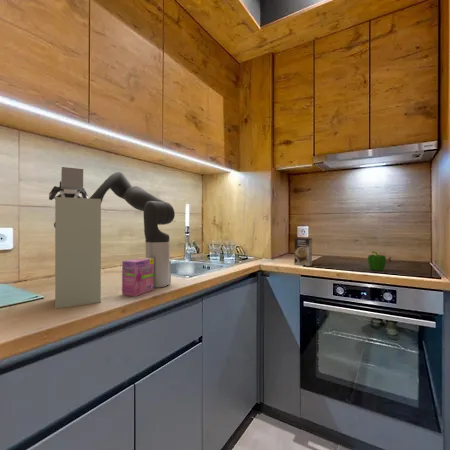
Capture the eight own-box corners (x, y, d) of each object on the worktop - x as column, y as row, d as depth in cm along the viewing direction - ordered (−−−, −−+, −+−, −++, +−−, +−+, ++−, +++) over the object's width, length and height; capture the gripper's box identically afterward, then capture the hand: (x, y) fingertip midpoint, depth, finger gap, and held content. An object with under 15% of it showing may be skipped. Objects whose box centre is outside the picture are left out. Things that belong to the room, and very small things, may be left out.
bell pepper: (389, 271, 144) (390, 251, 144) (377, 271, 142) (377, 252, 142) (376, 268, 152) (376, 250, 152) (364, 269, 150) (364, 250, 150)
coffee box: (293, 264, 166) (294, 237, 166) (297, 263, 172) (297, 237, 172) (309, 266, 161) (309, 238, 161) (312, 264, 167) (312, 238, 167)
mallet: (60, 193, 105) (60, 177, 105) (78, 194, 109) (78, 178, 109) (61, 185, 87) (61, 166, 87) (83, 187, 90) (83, 169, 90)
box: (135, 296, 93) (135, 261, 93) (121, 295, 95) (121, 260, 95) (154, 290, 102) (154, 258, 102) (141, 288, 104) (141, 257, 104)
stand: (55, 298, 90) (55, 200, 90) (95, 294, 96) (95, 201, 96) (55, 308, 80) (55, 196, 79) (100, 302, 86) (100, 199, 86)
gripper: (87, 216, 117) (92, 192, 104) (47, 215, 109) (47, 189, 97) (87, 201, 120) (91, 176, 107) (48, 199, 112) (47, 172, 100)
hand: (70, 182), depth 102 cm, fingers closed on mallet, 4 cm apart
